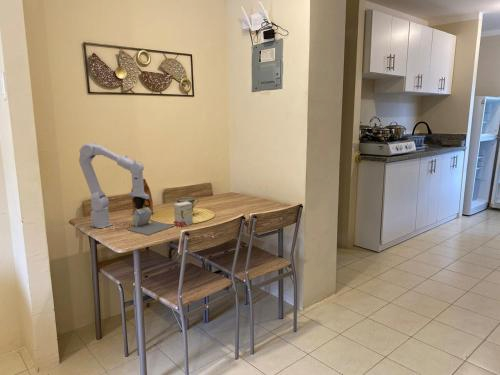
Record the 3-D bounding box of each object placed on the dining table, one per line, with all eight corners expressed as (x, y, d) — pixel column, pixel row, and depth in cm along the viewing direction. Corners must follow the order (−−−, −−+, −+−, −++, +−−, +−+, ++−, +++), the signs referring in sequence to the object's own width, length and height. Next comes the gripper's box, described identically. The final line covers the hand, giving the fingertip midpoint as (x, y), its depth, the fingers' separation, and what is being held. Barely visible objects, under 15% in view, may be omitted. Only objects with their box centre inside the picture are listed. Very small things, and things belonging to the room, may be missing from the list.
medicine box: (143, 218, 203) (147, 206, 199) (148, 223, 201) (152, 211, 197) (131, 222, 197) (135, 209, 193) (136, 227, 195) (139, 214, 191)
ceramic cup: (181, 218, 210) (180, 201, 209) (175, 214, 219) (174, 198, 217) (202, 215, 217) (201, 198, 215) (195, 211, 225) (195, 195, 224)
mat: (127, 230, 190) (127, 229, 190) (154, 222, 204) (154, 221, 204) (148, 235, 181) (148, 234, 181) (175, 226, 195) (175, 225, 195)
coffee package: (140, 217, 214) (137, 180, 210) (130, 213, 223) (128, 177, 219) (155, 214, 220) (153, 178, 216) (146, 210, 229) (143, 175, 225)
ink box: (179, 227, 194) (178, 205, 191) (174, 225, 197) (173, 203, 195) (193, 223, 199) (192, 202, 197) (187, 222, 203) (186, 201, 201)
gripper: (153, 185, 194) (155, 210, 196) (135, 183, 202) (137, 207, 205) (142, 187, 188) (144, 213, 191) (124, 185, 196) (126, 210, 199)
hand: (140, 210), depth 197 cm, fingers closed
